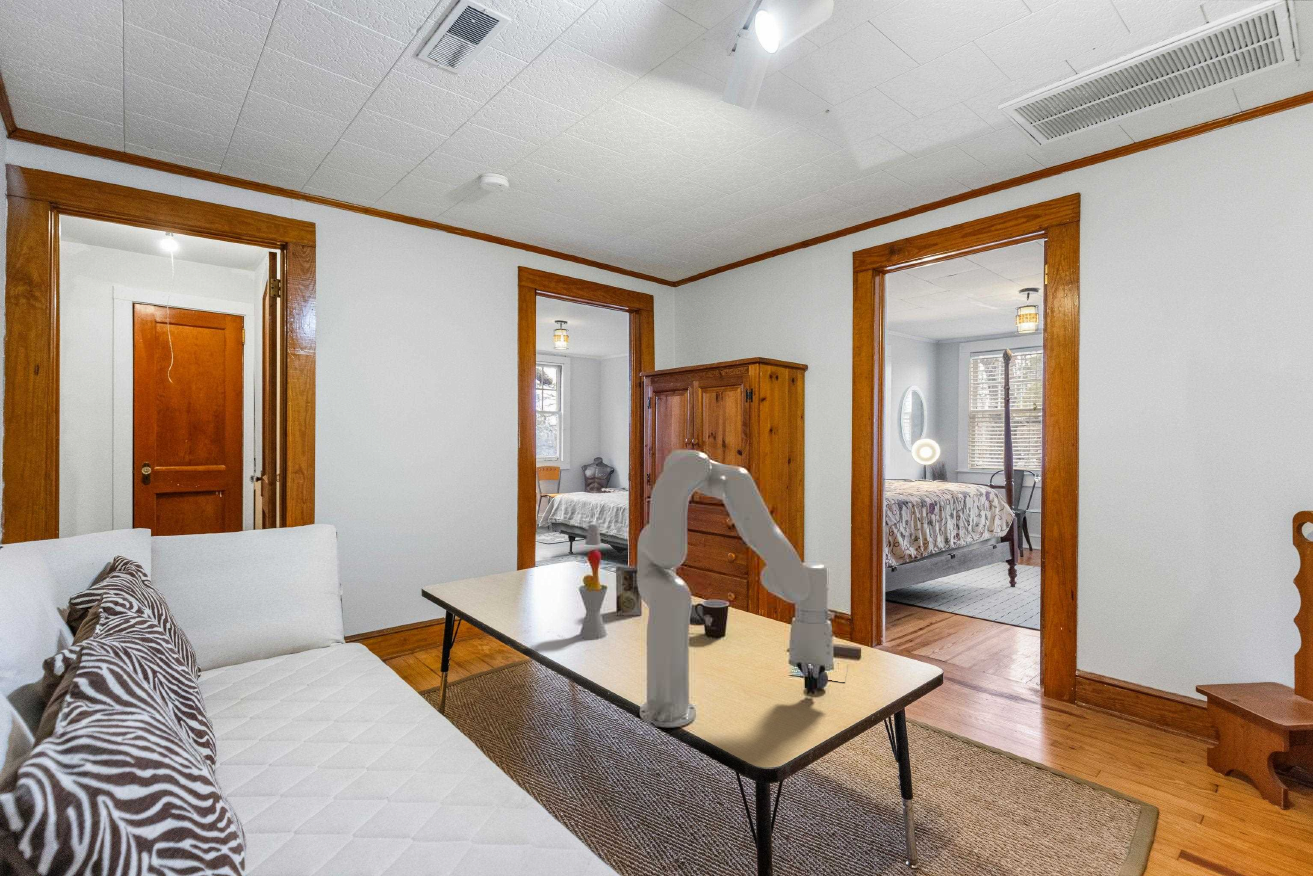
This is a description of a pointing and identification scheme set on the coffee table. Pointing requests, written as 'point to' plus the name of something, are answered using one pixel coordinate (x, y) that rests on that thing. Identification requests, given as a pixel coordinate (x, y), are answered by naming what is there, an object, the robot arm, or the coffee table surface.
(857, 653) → the wall
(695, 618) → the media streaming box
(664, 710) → the robot arm
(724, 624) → the coffee mug
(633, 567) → the coffee box
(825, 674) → the grey ball
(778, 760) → the coffee table surface
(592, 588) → the lava lamp
